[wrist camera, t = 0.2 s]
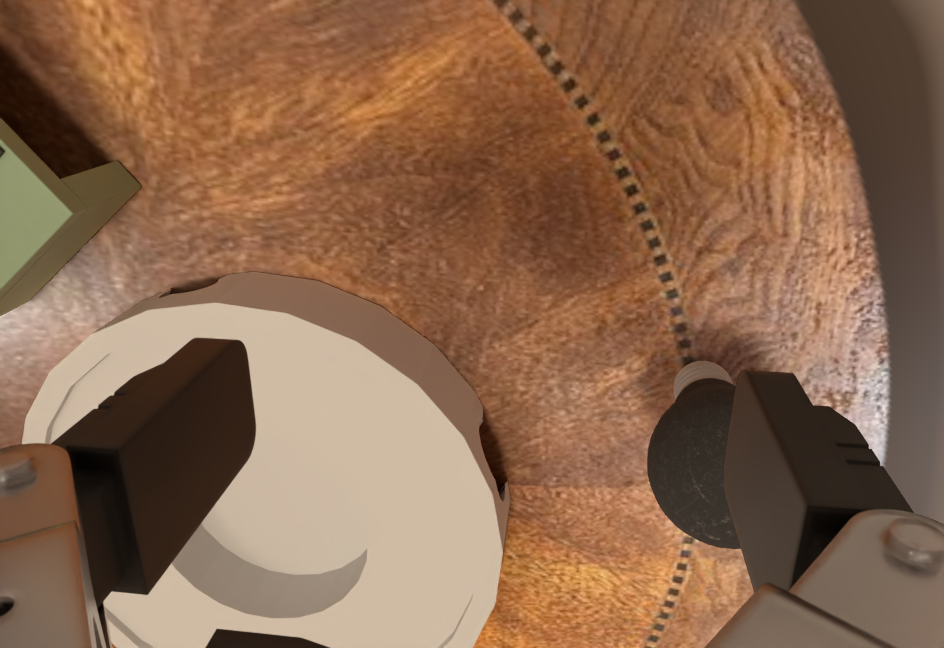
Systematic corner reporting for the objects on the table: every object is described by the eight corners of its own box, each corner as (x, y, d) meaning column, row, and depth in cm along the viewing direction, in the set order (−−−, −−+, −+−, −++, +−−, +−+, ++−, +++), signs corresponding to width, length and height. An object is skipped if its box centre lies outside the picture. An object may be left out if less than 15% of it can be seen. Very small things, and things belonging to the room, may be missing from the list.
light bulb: (727, 450, 35) (779, 608, 25) (613, 405, 34) (625, 547, 25) (790, 348, 32) (872, 480, 23) (669, 299, 32) (704, 413, 23)
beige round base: (600, 427, 35) (603, 476, 31) (387, 718, 44) (370, 782, 40) (149, 178, 33) (96, 199, 30) (24, 535, 42) (-28, 584, 39)
